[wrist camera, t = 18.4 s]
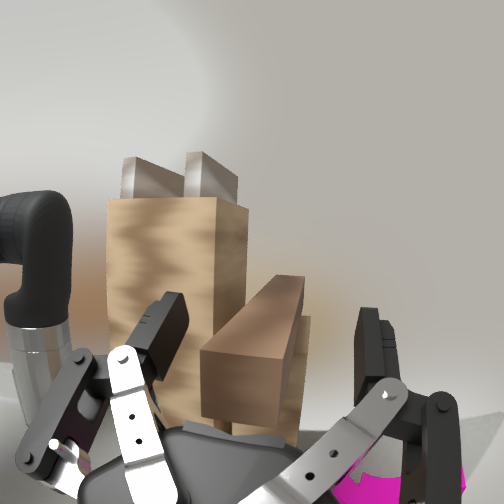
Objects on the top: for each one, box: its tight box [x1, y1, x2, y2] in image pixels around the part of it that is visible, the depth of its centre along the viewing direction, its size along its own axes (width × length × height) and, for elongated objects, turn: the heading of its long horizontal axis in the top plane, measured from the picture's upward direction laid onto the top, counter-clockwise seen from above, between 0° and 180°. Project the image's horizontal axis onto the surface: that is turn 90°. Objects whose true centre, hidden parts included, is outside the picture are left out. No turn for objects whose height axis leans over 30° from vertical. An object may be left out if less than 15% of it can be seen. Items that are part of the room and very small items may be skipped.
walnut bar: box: [200, 275, 305, 428], centre depth 23 cm, size 3×24×3 cm, turn 169°
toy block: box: [332, 467, 466, 504], centre depth 23 cm, size 15×6×8 cm, turn 66°
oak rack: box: [106, 152, 311, 447], centre depth 27 cm, size 16×10×34 cm, turn 78°
